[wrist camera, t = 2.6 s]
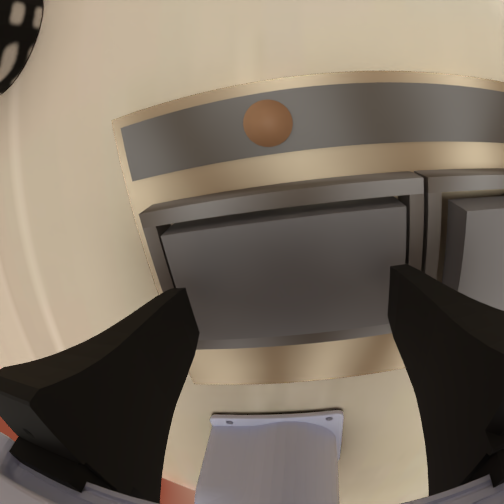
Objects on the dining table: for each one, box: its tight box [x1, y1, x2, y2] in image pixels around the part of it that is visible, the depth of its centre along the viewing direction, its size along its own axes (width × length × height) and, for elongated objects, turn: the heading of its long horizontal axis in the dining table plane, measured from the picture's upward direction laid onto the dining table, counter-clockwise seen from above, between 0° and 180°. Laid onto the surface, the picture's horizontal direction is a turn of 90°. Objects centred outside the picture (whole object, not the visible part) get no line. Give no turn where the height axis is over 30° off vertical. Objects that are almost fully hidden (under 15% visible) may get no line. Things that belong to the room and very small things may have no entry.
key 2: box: [161, 196, 406, 340], centre depth 12 cm, size 9×5×2 cm, turn 100°
